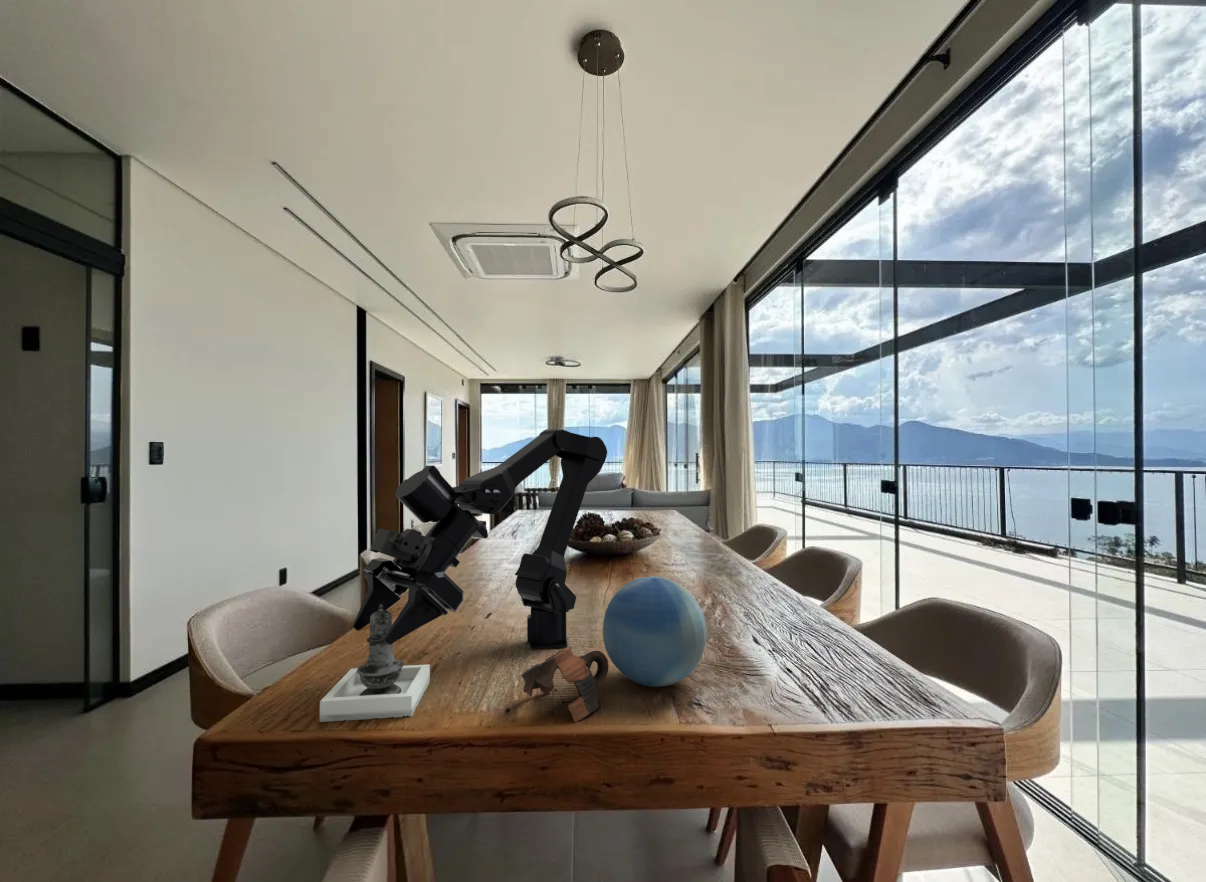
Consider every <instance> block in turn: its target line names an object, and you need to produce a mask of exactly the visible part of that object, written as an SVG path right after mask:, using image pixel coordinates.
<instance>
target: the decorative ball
mask: <svg viewBox="0 0 1206 882" xmlns="http://www.w3.org/2000/svg"><path fill="white" fill-rule="evenodd" d="M604 612H605V613H604V617H603V622H602V624H603V625H602V637H603V638H602V639H603V644H604V649H605V651H606V653H607V656H608V658H609V659H610V661H611V663H612V664H613V665H614V667H616V669H617V670H618V671H619V672H620V673H621V674H622V676H624V677H625V678H627V679H629V680H630V681H632V682H634V683H637V684H638V685H642V686H645V687H646V686H647V687H652V688H658V687H659V688H660V687H667V686H671V685H673V684H676V683H678V682H680V681H682V680H683V679H685V678H686V677H687V676H689V675H690V674H691V673H692V672H693V671H694V670H695V668H696V667H697V665H698V664H699V663H700V660H701V658H702V656H703V654H704V651H705V649H706V644H707V638H708V637H707V636H708V630H707V623H706V617H705V615H704V613H703V611H702V608H701V606H700V604H699V603H698V601H697V600H696V598H695V597H694V595H693V594H692V593H691V591H690V590H688V589H687V588H686V587H684V586H683V585H681V584H680V583H678V582H677V581H674V580H671V579H669V578H666V577H661V576H645V577H640V578H637V579H635V580H632V581H630V582H628V583H627V584H624V585H623V586H622V587H621V588H620V589H619V590H617V592H616V593H615V594H614V595H613V596H612V598H611V599H610V601H609V603H608V604H607V607H606V610H605V611H604Z"/></svg>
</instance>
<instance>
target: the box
mask: <svg viewBox="0 0 1206 882" xmlns="http://www.w3.org/2000/svg"><path fill="white" fill-rule="evenodd" d="M358 668H359V667H355V668H353V667H352V668H350V669H349V670H348V672H347V673H345V675H344V676H343V677H342V678H341V679H340V680H339V681H338V682H337V683H336V684H335V685H334V686H333V687H332V688H331V689H330V690H329V691H328V692H327V694H325V695H324V696H323V698H321V700H320V701H319V723H324V722H325V723H326V722H329V723H330V722H342V721H343V722H344V720H345V721H357V720H361V721H362V720H372V719H373V718H374V719H373V720H375V718H377V719H389V718H390V717H391V718H392V717H393V718H405V717H406V716H409V717H413V715H414V712H415V711H416V708H417V707H418V705H419V703H420V701H421V699H422V697H423V695H424V693H425V692H426V690H427V688H428V686H429V684H430V681H431V664H413V665H403V667H402V668H401V673H400V676H399V678H398V680H397V681H396V682H395V683H394V684H395V685H397V686H399V687H400V688H401V693H400V694H384V695H366V696H359V695H360V693H361V692H363V691H364V690H365V689H367V687H366V686H364V685H363V684H362V682H361V680H360V674H358V673H357V669H358ZM403 716H405V717H403ZM406 718H407V717H406Z"/></svg>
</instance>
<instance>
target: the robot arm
mask: <svg viewBox="0 0 1206 882" xmlns="http://www.w3.org/2000/svg"><path fill="white" fill-rule="evenodd" d="M607 456H608V449H607V446H606V444H605V443H604V440H603V439H602V438H601V437H599V436H586V435H582V434H579V433H575V432H570V431H568V430H566V429H563V428H548V429H544V430H542V431H541V432H540V433H539V434H538V436H536V437H535V438H534V439H533V440H531V441H530V442H528V443H527V444H525V445H524V446H523V447H522V448H520V449H519V450H518V451H516V452H515V453H513V454H512V455H511V456H509V457H508V458H507V459H505V460H504V461H503V462H501V463H500V464H499V465H496V466H495V467H493V468H489V469H486V470H483V471H480V472H477V473H476V474H473V475H471V476H469V477H466V478H465V479H463V480H462V481H461V482H460V483H459V485H457V486H453V487H452V485H451V484H450V483H449V482H448V481H447V480H446V479H445V478H444V476H443V475H442V473H441V472H440V470H438V468H437V467H436V466H435V465H425V466H424V467H423V469H421V470H419V471H418V472H416V473H414V474H412V475H411V476H409V477H408V478H406V479H404V480H403V481H402V482H401V483H400V484H399V486H398V487H397V489H396V490H395V493H394V494H395V497H396V499H398V500H399V501H400V502H401V503H402V504H403V505H404V507H406V508H407V509H408V510H409V511H410V512H411V514H413V515H414V516H415V518H417V520H419V521H420V522H421V523H422V524H425V523H430V522H431V523H434V524H433V525H432V527H431V528H430V529H429V530H428V531H427V532H426V534H425V535H422V532H421V531H418V530H416V529H412V528H405V530H404V531H402V532H399V531H394V530H389V529H382V528H378V530H377V533H376V535H375V537H374V540H373V541H372V543H371V546H370V549H369V551H370V552H372V553H376V554H377V553H380V554H382V555H386V556H389V557H392V558H394V559H393V560H391V559H387V558H384V557H383V558H381V557H378V558H372V559H371V560H370V561H369V563H368V564H366V566H365V567H364V568H363V571H364V572H365V574H364V578H365V579H366V581H367V591H366V594H365V596H364V598H363V602H362V603H361V606H360V608H359V610H358V612H357V615H356V617H355V619H354V622H353V623H352V628H353V629H354V630H355V631H357V632H358V631H361V630H362V629H364V628H365V627H366V626H368V625H370V617H371V615H372V614H373V613H374V612H376V611H378V610H379V609H380V608H379V606H380V604H382V605H383V606H384V607H383V609H385V610H386V611H388V609H389V608H391V607H392V606H394V605H395V604H396V603H397V602H399V601H400V600H401V597H400V596H401V595H404V594H405V593H406V592H407V591H408V594H407V595H408V596H407V602H406V603H405V605H404V607H403V608H402V609H401V610H400V613H399V614H398V616H397V617H396V618H395V620H394V621H393V622H392V626H391V628H390V629H389V631H388V633H387V635H386V636H385V638H384V641H385V642H386V643H387V644H389V645H391V644H394V643H396V642H397V641H399V640H401V639H402V638H404V637H406V636H407V635H410V634H411V633H412V632H414V631H416V630H417V629H420V628H421V627H423V626H425V625H427V624H428V623H430V622H432V621H433V620H436V619H438V618H440V617H442V616H447V615H448V613H449V612H448V611H450V612H453V613H456V612H457V610H458V609H459V607H460V606H461V605H462V603H463V602H464V590H463V589H462V588H461V587H460V586H459V585H458V584H456V582H455V581H454V580H452V579H451V578H450V576H448V575H447V574H446V572H447V570H448V569H449V568H450V567H451V568H457V567H458V565H459V564H460V560H459V559H458V558H457V557H458V556H459V555H460V553H462V551H463V550H464V548H465V547H466V545H467V544H468V543H469V541H470V540H471V539H472V538H477V539H488V537H489V533H488V529H487V521H486V520H480V519H478V518H477V517H475V515H474V514H480V515H481V514H483V515H495V514H497V513H499V512H500V511H502V509H504V507H506V505H507V504H508V503H509V501H511V499H512V498H513V496H514V493H515V492H516V491H515V490H516V488H517V487H518V486H519V485H520V484H521V483H522V482H523V481H524V480H525V479H528V478H529V476H531V475H532V474H533V473H534V472H536V471H537V470H538V469H539V468H541V467H542V466H543V465H545V464H546V463H547V462H549V460H551V459H552V458H553V457H556V458H558V459H560V467H561V472H562V479H561V481H560V484H559V486H558V489H557V493H556V496H555V498H554V501H553V504H552V508H551V510H550V514H549V515H548V519H547V521H546V524H545V527H544V530H543V533H542V535H541V538H540V541H539V544H538V547H536V549H535V550H534V551H533V552H531V553H526V552H525V553H524V554H522V556H521V558H520V563H519V566H518V568H517V570H516V572H514V576H516V579H515V588H516V590H517V593H518V595H519V597H520V599H521V602H522V605H523V606H524V607H529V608H530V614H528V615H527V619H526V620H527V621H526V623H527V624H526V625H527V626H526V629H527V632H526V637H527V640H526V641H527V642H528V643H529V649H532V650H533V649H549V648H550V649H551V648H553V649H554V648H568V646H569V644H568V637H567V633H568V632H567V613H569V611H570V610H574V609H575V605H576V602H577V596H576V594H575V593H574V592H573V591H572V590H571V589H570V588H569V586H567V584H566V579H567V574H568V571H567V565H566V559H565V555H566V552H567V548H568V547H569V546H568V545H569V542H570V539H571V537H572V533H573V530H574V527H575V525H576V522H577V518H578V516H579V512H580V509H581V505H582V503H583V500H584V496H585V495H586V494H585V493H586V492H587V487H588V485H589V484H590V483H591V482H592V480H594V479H595V478H596V477H597V476H598V475H599V474H600V472H601V471H602V468H603V467H604V465H605V463H606V462H605V461H606V459H607Z"/></svg>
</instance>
